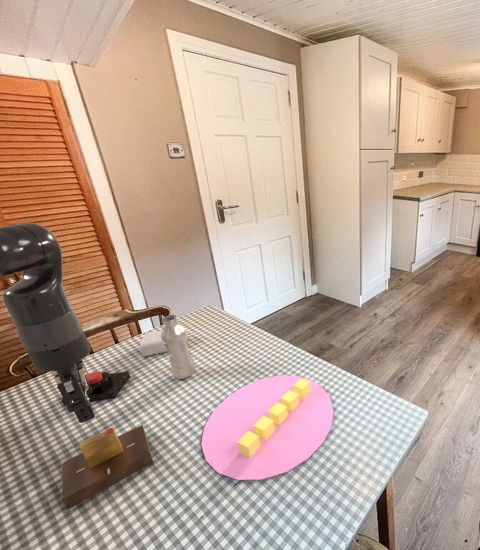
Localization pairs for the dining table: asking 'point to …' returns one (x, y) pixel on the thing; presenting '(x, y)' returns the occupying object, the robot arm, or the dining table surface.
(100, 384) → the switch block
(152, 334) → the charger
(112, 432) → the lock knob
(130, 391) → the dining table surface
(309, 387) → the platter
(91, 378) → the button
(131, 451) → the plate
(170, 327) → the plastic bottle
